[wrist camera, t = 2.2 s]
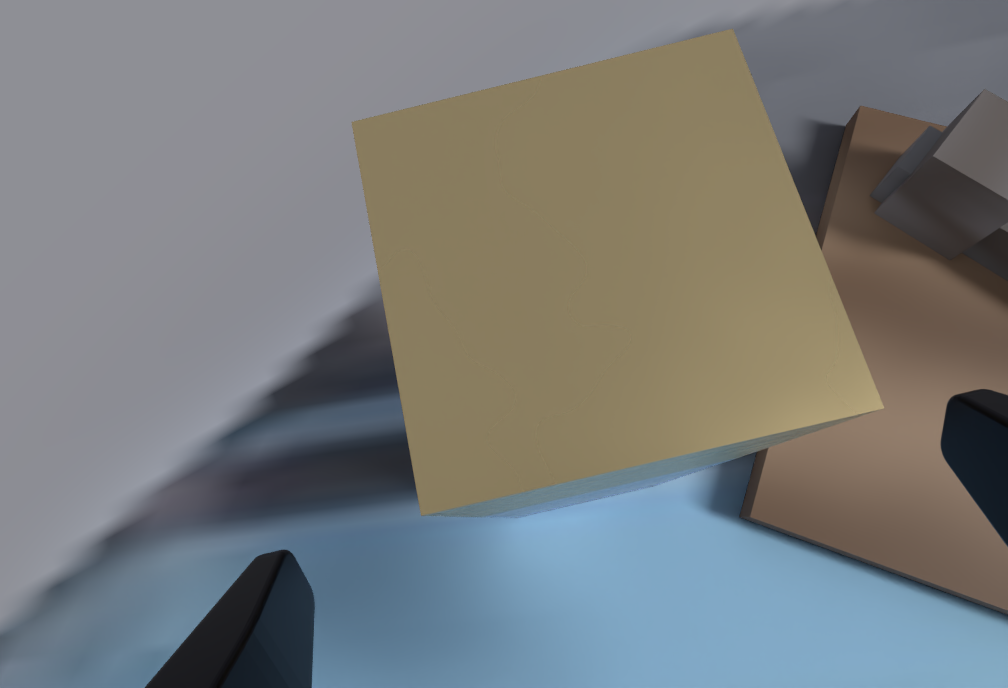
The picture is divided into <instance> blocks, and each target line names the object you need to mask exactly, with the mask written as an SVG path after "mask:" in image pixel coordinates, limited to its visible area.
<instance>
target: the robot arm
mask: <svg viewBox="0 0 1008 688" xmlns="http://www.w3.org/2000/svg"><path fill="white" fill-rule="evenodd" d="M940 445H941V451H942V455H943V457H944V459H945V461H946V462H947V464H948V465H949V467H950V468H951V469H952V471H953V472H954V473H955V475H956V476H957V478H958V479H959V480H960V482H961V483H962V485H963V486H964V487H965V489H966V490H967V492H968V493H969V494H970V496H971V497H972V498H973V500H974V501H975V503H976V504H977V505H978V507H979V508H980V510H981V511H982V512H983V514H984V515H985V516H986V518H987V519H988V521H989V522H990V523H991V525H992V526H993V528H994V529H995V530H996V532H997V533H998V535H999V536H1000V537H1001V539H1002V540H1003V541H1004V543H1005V544H1006V545H1007V547H1008V395H1006V394H1003V393H999V392H996V391H992V390H989V389H978V390H973V391H969V392H965V393H960V394H956V395H954V396H952V397H951V398H950V399H949V401H948V402H947V406H946V411H945V417H944V423H943V429H942V435H941V442H940ZM314 609H315V603H314V595H313V592H312V589H311V586H310V584H309V583H308V581H307V579H306V577H305V575H304V573H303V572H302V570H301V568H300V566H299V564H298V562H297V561H296V559H295V557H294V556H293V554H292V553H291V552H290V551H288V550H279V551H275V552H271V553H266V554H262V555H260V556H258V557H256V558H255V559H254V560H253V561H252V562H251V564H250V565H249V566H248V567H247V568H246V569H245V571H244V572H243V573H242V574H241V575H240V576H239V578H238V579H237V580H236V581H235V582H234V583H233V585H232V586H231V587H230V588H229V589H228V591H227V592H226V593H225V594H224V595H223V596H222V598H221V599H220V600H219V601H218V602H217V603H216V605H215V606H214V607H213V608H212V609H211V610H210V612H209V613H208V614H207V615H206V616H205V618H204V619H203V620H202V621H201V622H200V623H199V625H198V626H197V627H196V628H195V629H194V630H193V632H192V633H191V634H190V635H189V636H188V637H187V639H186V640H185V641H184V642H183V643H182V644H181V646H180V647H179V648H178V649H177V650H176V652H175V653H174V654H173V655H172V656H171V657H170V659H169V660H168V661H167V662H166V663H165V664H164V666H163V667H162V668H161V669H160V670H159V671H158V673H157V674H156V675H155V676H154V677H153V678H152V680H151V681H150V682H149V683H148V684H147V686H146V687H145V688H312V664H313V636H314Z"/></svg>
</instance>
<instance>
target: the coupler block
mask: <svg viewBox="0 0 1008 688" xmlns="http://www.w3.org/2000/svg"><path fill="white" fill-rule="evenodd" d="M352 128H353V133H354V139H355V144H356V150H357V156H358V161H359V167H360V172H361V178H362V184H363V190H364V195H365V201H366V206H367V212H368V218H369V224H370V229H371V235H372V241H373V246H374V252H375V258H376V263H377V268H378V275H379V280H380V286H381V292H382V297H383V303H384V309H385V314H386V320H387V326H388V331H389V337H390V343H391V348H392V354H393V359H394V365H395V371H396V376H397V382H398V388H399V393H400V399H401V405H402V410H403V416H404V422H405V427H406V433H407V439H408V444H409V450H410V456H411V461H412V467H413V473H414V478H415V484H416V490H417V495H418V501H419V507H420V512H421V516H454V517H501V518H518V517H523V516H527V515H531V514H536V513H540V512H544V511H549V510H553V509H557V508H562V507H566V506H570V505H575V504H579V503H583V502H588V501H592V500H596V499H601V498H605V497H609V496H614V495H618V494H622V493H627V492H631V491H635V490H640V489H644V488H648V487H653V486H656V485H659V484H662V483H665V482H668V481H671V480H674V479H677V478H680V477H683V476H686V475H689V474H692V473H695V472H698V471H701V470H704V469H706V468H709V467H712V466H715V465H718V464H721V463H724V462H727V461H730V460H733V459H736V458H739V457H742V456H745V455H748V454H751V453H754V452H757V451H760V450H763V449H766V448H769V447H772V446H775V445H778V444H781V443H783V442H786V441H789V440H792V439H795V438H798V437H801V436H804V435H807V434H810V433H813V432H816V431H819V430H822V429H825V428H828V427H831V426H834V425H837V424H840V423H843V422H846V421H849V420H852V419H855V418H858V417H860V416H863V415H866V414H869V413H872V412H875V411H878V410H881V409H884V406H883V404H882V401H881V399H880V396H879V394H878V391H877V389H876V386H875V384H874V381H873V379H872V376H871V374H870V371H869V369H868V366H867V364H866V361H865V359H864V356H863V354H862V351H861V349H860V346H859V344H858V341H857V339H856V336H855V334H854V331H853V329H852V326H851V324H850V321H849V319H848V316H847V314H846V311H845V309H844V306H843V304H842V301H841V299H840V296H839V294H838V291H837V289H836V286H835V284H834V281H833V279H832V276H831V274H830V271H829V268H828V266H827V263H826V261H825V258H824V256H823V253H822V251H821V248H820V246H819V243H818V241H817V238H816V236H815V233H814V231H813V228H812V226H811V223H810V221H809V218H808V216H807V213H806V211H805V208H804V206H803V203H802V201H801V198H800V196H799V193H798V191H797V188H796V186H795V183H794V181H793V178H792V176H791V173H790V171H789V168H788V166H787V163H786V161H785V158H784V156H783V153H782V151H781V148H780V146H779V143H778V141H777V138H776V136H775V133H774V131H773V128H772V126H771V123H770V121H769V118H768V116H767V113H766V111H765V108H764V106H763V103H762V101H761V98H760V96H759V93H758V91H757V88H756V86H755V83H754V81H753V78H752V76H751V73H750V71H749V68H748V66H747V63H746V61H745V58H744V56H743V53H742V51H741V48H740V46H739V43H738V41H737V38H736V36H735V33H734V31H733V29H730V30H726V31H722V32H718V33H713V34H709V35H705V36H701V37H697V38H693V39H689V40H685V41H681V42H677V43H673V44H669V45H664V46H660V47H656V48H652V49H648V50H644V51H640V52H636V53H632V54H628V55H624V56H620V57H615V58H611V59H607V60H603V61H599V62H595V63H591V64H587V65H583V66H579V67H575V68H570V69H566V70H563V71H558V72H555V73H550V74H546V75H542V76H538V77H534V78H530V79H526V80H522V81H518V82H513V83H509V84H505V85H501V86H497V87H493V88H489V89H485V90H481V91H477V92H472V93H469V94H464V95H460V96H456V97H452V98H448V99H444V100H440V101H436V102H432V103H427V104H424V105H419V106H415V107H411V108H407V109H403V110H399V111H395V112H391V113H387V114H383V115H379V116H374V117H370V118H366V119H362V120H358V121H354V122H352Z"/></svg>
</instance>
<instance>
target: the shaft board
mask: <svg viewBox="0 0 1008 688" xmlns="http://www.w3.org/2000/svg"><path fill="white" fill-rule="evenodd" d="M816 238H817V241H818V243H819V246H820V248H821V251H822V253H823V256H824V258H825V261H826V263H827V266H828V268H829V271H830V274H831V276H832V279H833V281H834V284H835V286H836V289H837V291H838V294H839V296H840V299H841V301H842V304H843V306H844V309H845V311H846V314H847V316H848V319H849V321H850V324H851V326H852V329H853V331H854V334H855V336H856V339H857V341H858V344H859V346H860V349H861V351H862V354H863V356H864V359H865V361H866V364H867V366H868V369H869V371H870V374H871V376H872V379H873V381H874V384H875V386H876V389H877V391H878V394H879V396H880V399H881V401H882V404H883V406H884V409H881V410H878V411H875V412H872V413H869V414H866V415H863V416H860V417H858V418H855V419H852V420H849V421H846V422H843V423H840V424H837V425H834V426H831V427H828V428H825V429H822V430H819V431H816V432H813V433H810V434H807V435H804V436H801V437H798V438H795V439H792V440H789V441H786V442H783V443H781V444H778V445H775V446H772V447H769V448H766V449H763V450H760V451H757V454H756V458H755V461H754V465H753V469H752V472H751V476H750V480H749V483H748V487H747V491H746V494H745V498H744V502H743V505H742V509H741V513H740V516H739V517H741V518H743V519H746V520H749V521H752V522H754V523H757V524H760V525H763V526H765V527H768V528H771V529H774V530H776V531H779V532H782V533H784V534H787V535H790V536H793V537H795V538H798V539H801V540H804V541H806V542H809V543H812V544H815V545H817V546H820V547H823V548H826V549H828V550H831V551H834V552H837V553H839V554H842V555H845V556H848V557H850V558H853V559H856V560H859V561H861V562H864V563H867V564H870V565H872V566H875V567H878V568H881V569H883V570H886V571H889V572H892V573H894V574H897V575H900V576H903V577H905V578H908V579H911V580H914V581H916V582H919V583H922V584H925V585H927V586H930V587H933V588H936V589H938V590H941V591H944V592H947V593H949V594H952V595H955V596H957V597H960V598H963V599H966V600H968V601H971V602H974V603H977V604H979V605H982V606H985V607H988V608H990V609H993V610H996V611H999V612H1001V613H1004V614H1007V615H1008V547H1007V545H1006V544H1005V543H1004V541H1003V540H1002V539H1001V537H1000V536H999V535H998V533H997V532H996V530H995V529H994V528H993V526H992V525H991V523H990V522H989V521H988V519H987V518H986V516H985V515H984V514H983V512H982V511H981V510H980V508H979V507H978V505H977V504H976V503H975V501H974V500H973V498H972V497H971V496H970V494H969V493H968V492H967V490H966V489H965V487H964V486H963V485H962V483H961V482H960V480H959V479H958V478H957V476H956V475H955V473H954V472H953V471H952V469H951V468H950V467H949V465H948V464H947V462H946V461H945V459H944V457H943V455H942V451H941V445H940V442H941V435H942V429H943V423H944V417H945V411H946V406H947V402H948V401H949V399H950V398H951V397H952V396H954V395H956V394H960V393H965V392H969V391H973V390H978V389H989V390H992V391H996V392H999V393H1003V394H1006V395H1008V102H1007V101H1006V100H1004V99H1002V98H1000V97H998V96H996V95H995V94H993V93H991V92H989V91H987V90H985V89H984V90H983V91H982V92H981V93H980V94H979V95H978V96H977V97H976V98H975V99H974V100H973V101H972V102H971V103H970V104H969V105H968V106H967V107H966V108H965V109H964V110H963V111H962V112H961V113H960V114H959V115H958V116H957V117H956V118H955V119H954V120H953V121H952V122H951V123H950V124H949V125H948V126H947V127H946V126H942V125H938V124H934V123H929V122H925V121H921V120H917V119H913V118H909V117H905V116H901V115H897V114H893V113H889V112H885V111H881V110H876V109H872V108H868V107H864V106H860V107H859V108H858V110H857V111H856V112H855V114H854V115H853V117H852V118H851V119H850V121H849V122H848V123H847V125H846V128H845V131H844V135H843V139H842V142H841V146H840V150H839V153H838V157H837V161H836V164H835V168H834V172H833V175H832V179H831V183H830V186H829V190H828V194H827V197H826V201H825V205H824V208H823V212H822V216H821V219H820V223H819V227H818V230H817V234H816Z"/></svg>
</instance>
